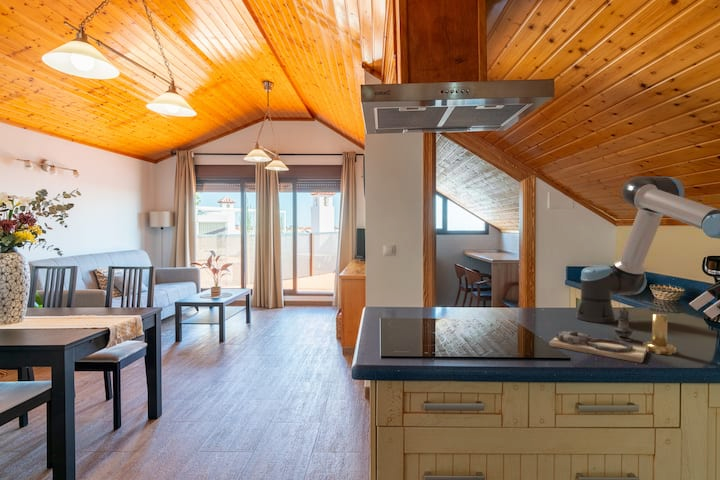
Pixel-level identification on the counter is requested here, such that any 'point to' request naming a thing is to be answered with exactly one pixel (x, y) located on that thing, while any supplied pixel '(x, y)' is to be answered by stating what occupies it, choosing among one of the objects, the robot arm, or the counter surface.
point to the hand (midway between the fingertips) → (699, 311)
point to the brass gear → (659, 336)
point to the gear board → (598, 346)
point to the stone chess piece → (623, 326)
